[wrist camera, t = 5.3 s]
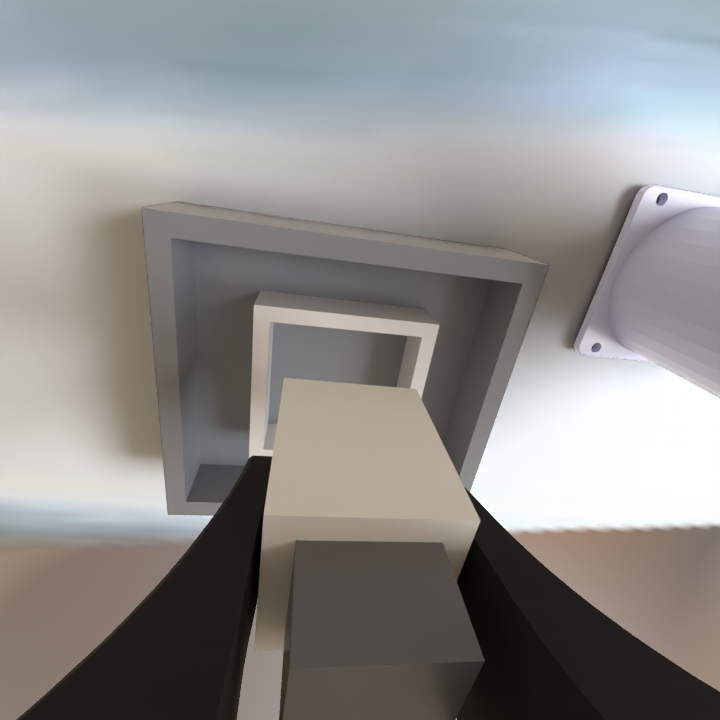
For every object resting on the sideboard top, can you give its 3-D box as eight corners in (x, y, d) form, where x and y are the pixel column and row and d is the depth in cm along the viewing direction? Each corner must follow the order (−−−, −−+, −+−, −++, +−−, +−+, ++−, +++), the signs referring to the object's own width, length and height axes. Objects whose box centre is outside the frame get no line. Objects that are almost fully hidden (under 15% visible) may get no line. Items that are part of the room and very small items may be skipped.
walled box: (506, 249, 17) (549, 264, 14) (439, 472, 22) (459, 520, 19) (177, 201, 15) (141, 207, 12) (190, 462, 20) (167, 514, 17)
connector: (416, 388, 12) (536, 634, 5) (391, 487, 13) (461, 764, 7) (284, 377, 11) (243, 643, 5) (275, 483, 13) (237, 785, 6)
